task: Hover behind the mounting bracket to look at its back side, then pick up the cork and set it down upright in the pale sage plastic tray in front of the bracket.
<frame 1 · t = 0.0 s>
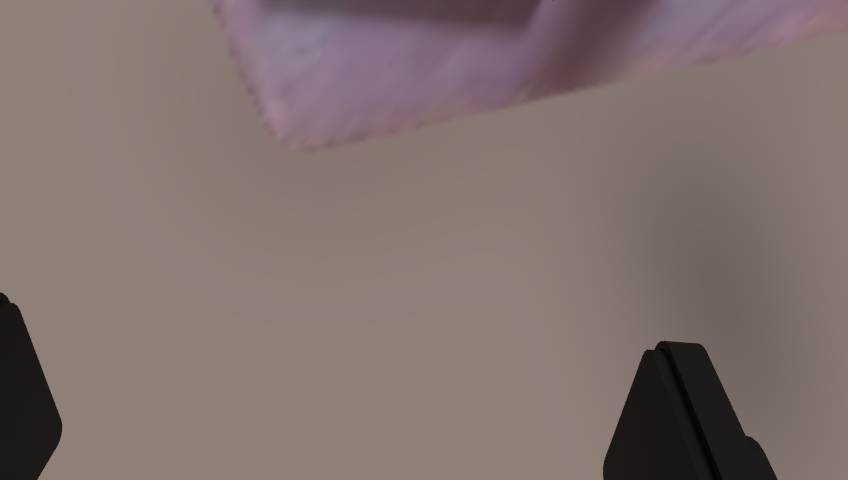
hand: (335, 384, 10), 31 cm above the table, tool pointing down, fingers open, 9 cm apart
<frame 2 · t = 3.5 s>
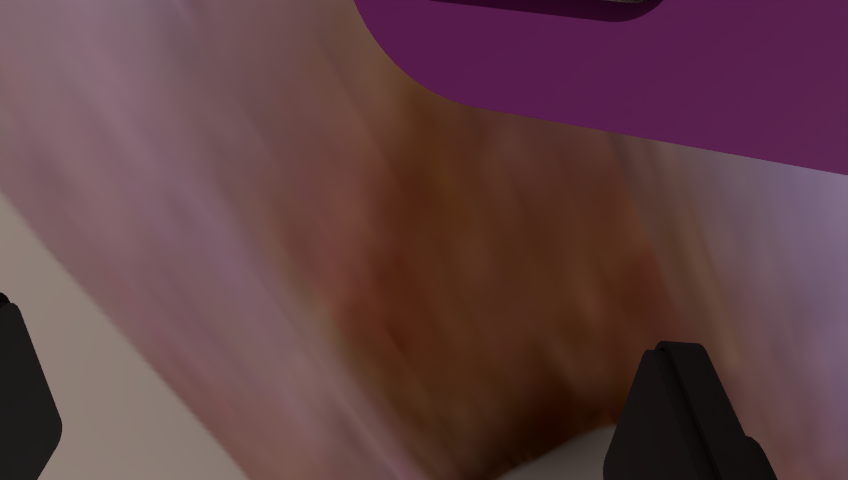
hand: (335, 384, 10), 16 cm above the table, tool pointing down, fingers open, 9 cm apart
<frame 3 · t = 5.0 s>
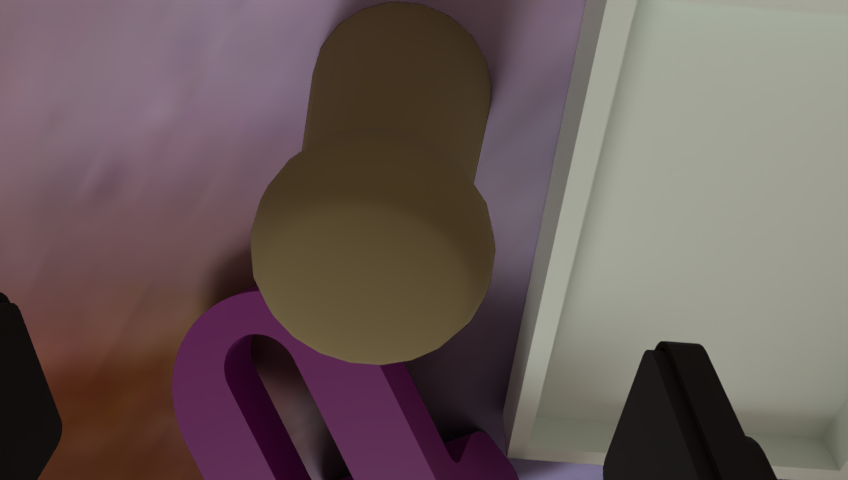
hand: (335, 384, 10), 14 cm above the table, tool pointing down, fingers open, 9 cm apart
cork: (402, 92, 22), on the table
mounting bracket: (361, 407, 31), on the table
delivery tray: (735, 248, 25), on the table
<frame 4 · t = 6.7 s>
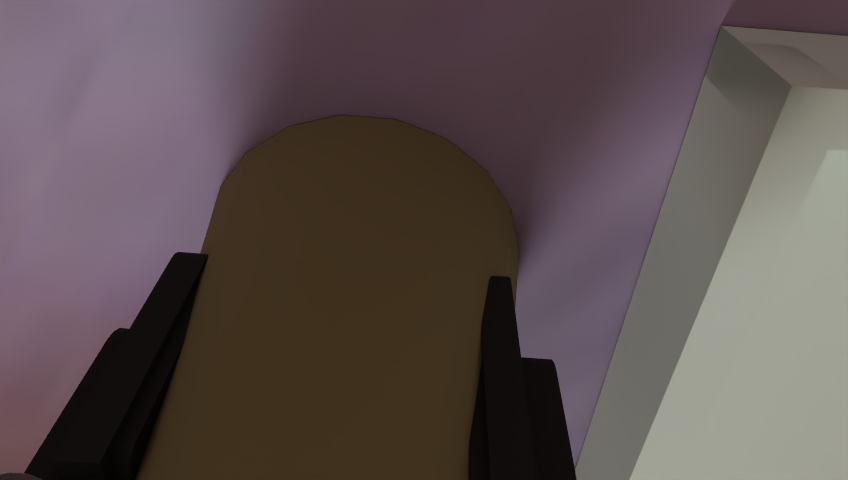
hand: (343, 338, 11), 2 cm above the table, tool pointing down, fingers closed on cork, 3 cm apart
cork: (365, 251, 13), on the table, touching gripper
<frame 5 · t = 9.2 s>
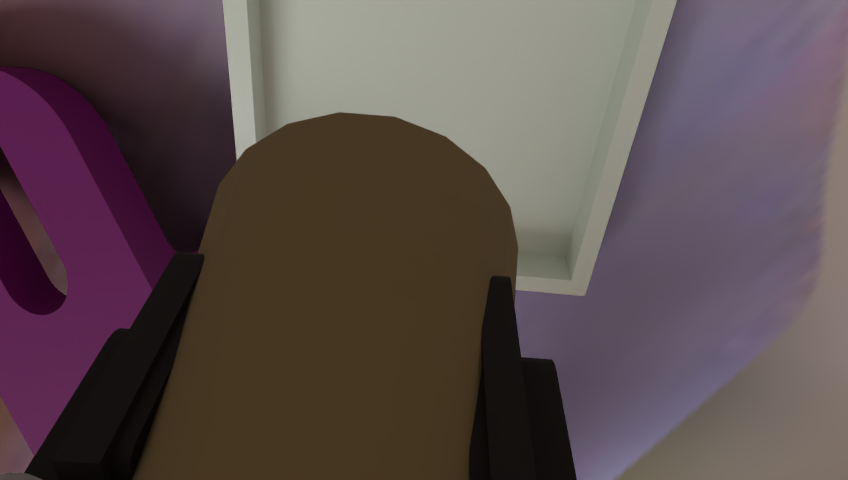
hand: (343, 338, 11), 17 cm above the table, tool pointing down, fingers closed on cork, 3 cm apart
cork: (364, 249, 13), point 14 cm above the table, touching gripper
mounting bracket: (124, 225, 31), on the table
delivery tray: (441, 37, 25), on the table
when the fingers open (5 cm above the table, at t = 12.0 s): cork drops 1 cm, resting on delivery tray.
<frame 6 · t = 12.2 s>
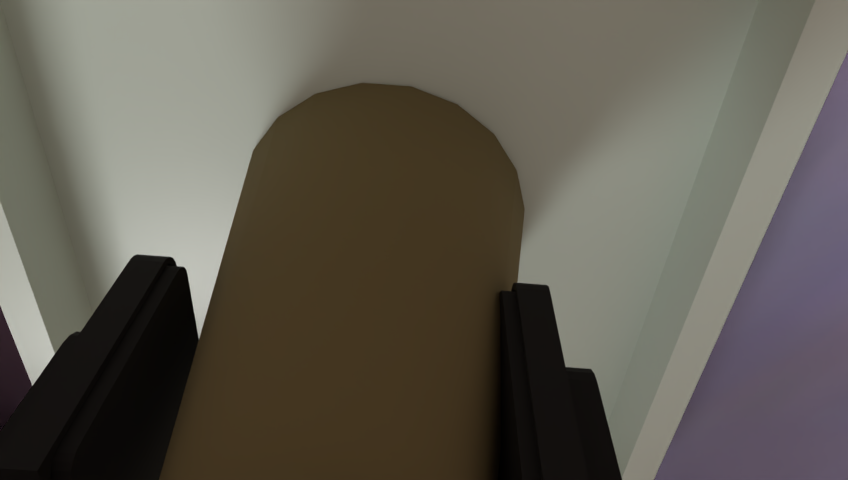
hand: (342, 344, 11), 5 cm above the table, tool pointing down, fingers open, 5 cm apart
cork: (384, 211, 14), point 1 cm above the table, touching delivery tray, gripper
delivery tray: (371, 189, 15), on the table
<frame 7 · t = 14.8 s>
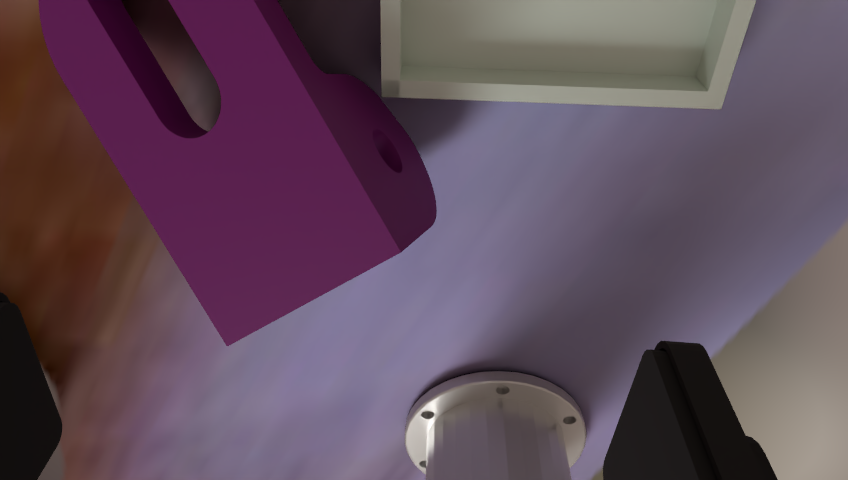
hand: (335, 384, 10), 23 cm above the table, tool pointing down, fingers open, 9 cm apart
mounting bracket: (249, 76, 31), on the table
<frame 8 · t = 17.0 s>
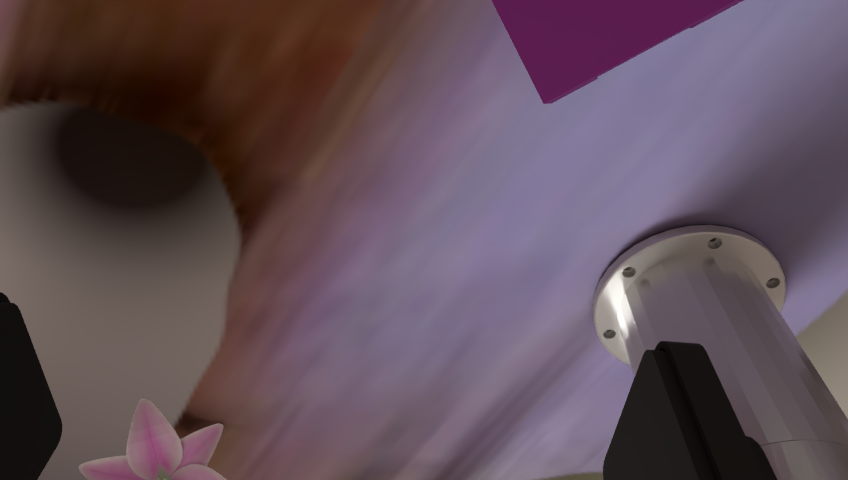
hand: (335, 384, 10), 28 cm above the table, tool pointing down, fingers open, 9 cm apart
lily: (182, 435, 56), on the table
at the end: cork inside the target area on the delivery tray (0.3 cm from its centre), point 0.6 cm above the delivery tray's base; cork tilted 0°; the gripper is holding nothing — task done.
